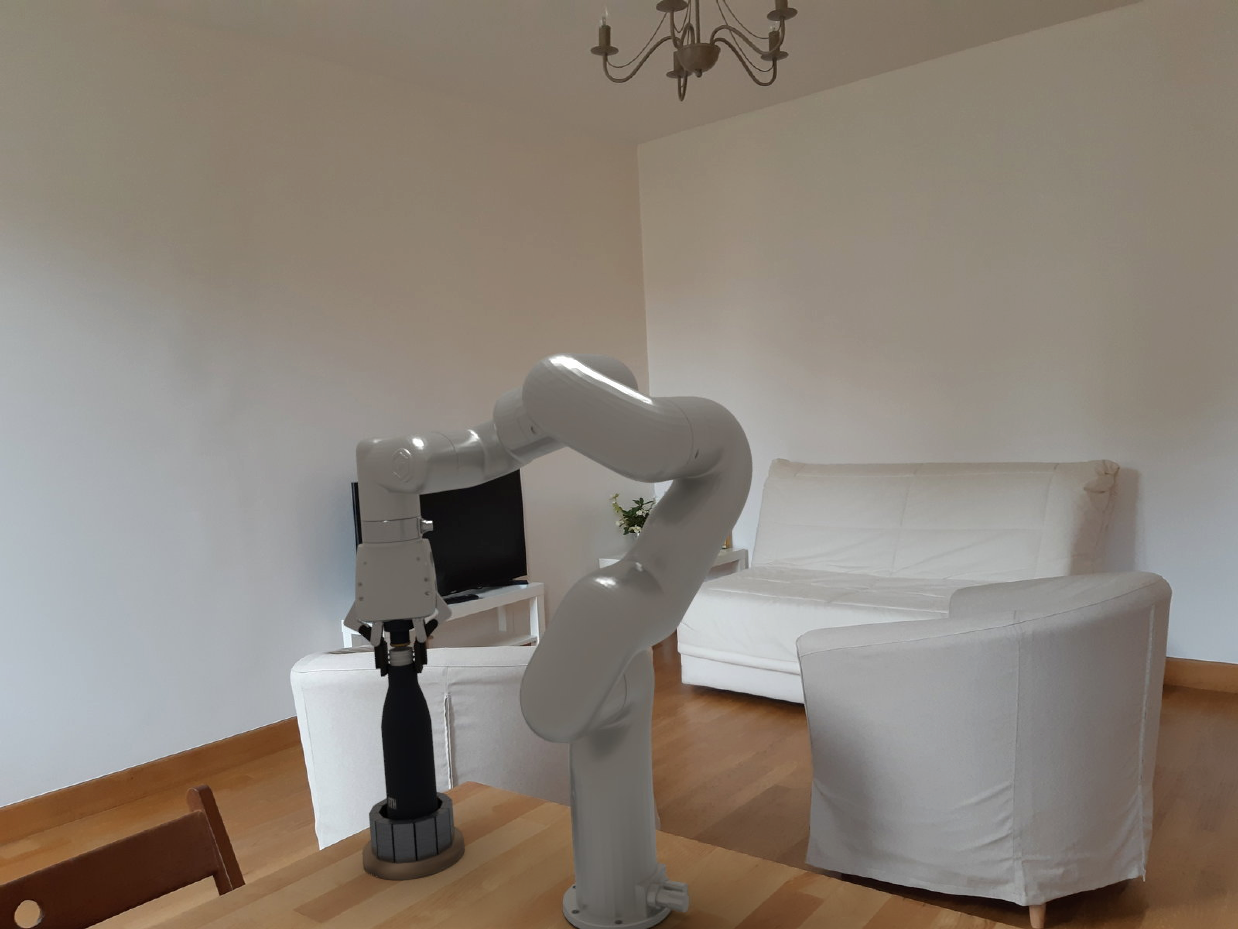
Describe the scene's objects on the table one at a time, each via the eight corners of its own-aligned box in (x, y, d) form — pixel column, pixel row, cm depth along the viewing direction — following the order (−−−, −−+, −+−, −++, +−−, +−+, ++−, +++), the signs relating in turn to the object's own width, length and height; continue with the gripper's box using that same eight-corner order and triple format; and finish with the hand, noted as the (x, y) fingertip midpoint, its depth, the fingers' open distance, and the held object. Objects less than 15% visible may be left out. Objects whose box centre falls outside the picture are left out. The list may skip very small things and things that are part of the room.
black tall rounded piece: (445, 820, 125) (428, 598, 124) (431, 841, 119) (413, 608, 117) (398, 820, 126) (382, 600, 124) (382, 842, 119) (364, 610, 118)
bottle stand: (484, 842, 125) (481, 795, 125) (420, 888, 114) (416, 836, 113) (409, 827, 131) (406, 781, 131) (341, 868, 120) (337, 819, 120)
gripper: (458, 524, 125) (468, 659, 126) (331, 533, 123) (341, 670, 124) (455, 530, 118) (465, 674, 118) (319, 540, 116) (331, 686, 117)
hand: (402, 671), depth 121 cm, fingers closed on black tall rounded piece, 3 cm apart
